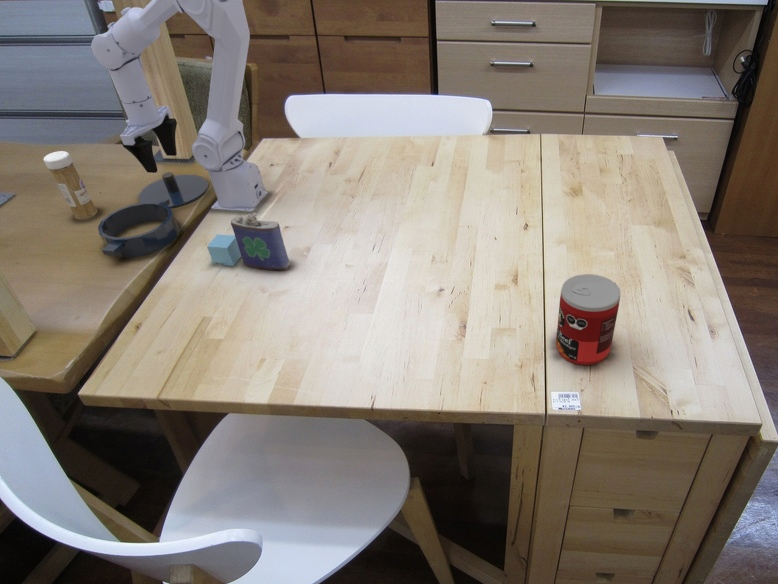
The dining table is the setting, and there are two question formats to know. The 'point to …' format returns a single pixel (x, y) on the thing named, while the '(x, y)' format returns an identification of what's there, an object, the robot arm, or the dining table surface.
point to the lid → (175, 189)
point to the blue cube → (224, 250)
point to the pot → (134, 216)
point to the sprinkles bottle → (70, 184)
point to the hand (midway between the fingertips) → (162, 163)
